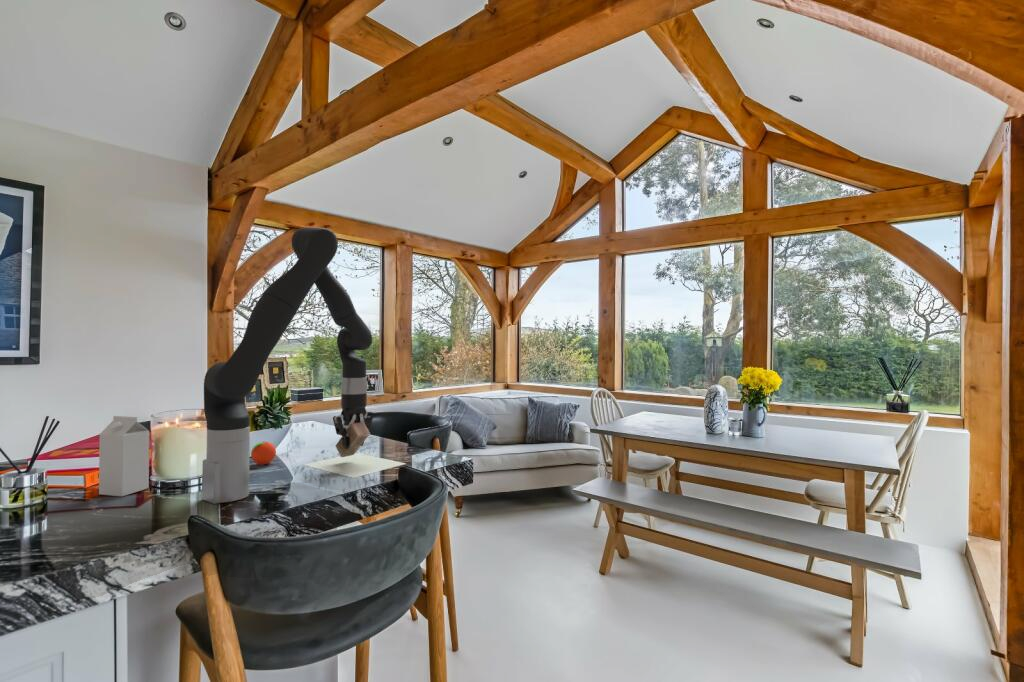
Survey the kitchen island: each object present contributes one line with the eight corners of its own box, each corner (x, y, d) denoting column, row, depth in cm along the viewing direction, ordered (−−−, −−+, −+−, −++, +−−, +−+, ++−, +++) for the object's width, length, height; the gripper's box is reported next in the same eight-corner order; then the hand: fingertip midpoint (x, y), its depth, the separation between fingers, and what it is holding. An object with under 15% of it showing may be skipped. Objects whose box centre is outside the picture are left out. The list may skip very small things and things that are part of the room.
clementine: (260, 469, 149) (260, 445, 149) (242, 466, 151) (242, 443, 151) (280, 462, 156) (281, 440, 156) (264, 460, 158) (264, 438, 158)
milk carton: (126, 486, 129) (127, 413, 129) (148, 488, 128) (149, 415, 128) (98, 495, 122) (99, 418, 122) (122, 497, 121) (123, 419, 121)
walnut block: (341, 457, 153) (358, 435, 149) (335, 445, 155) (351, 423, 151) (353, 454, 157) (370, 433, 153) (347, 443, 159) (363, 421, 155)
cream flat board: (353, 479, 138) (353, 477, 138) (302, 466, 152) (302, 464, 152) (406, 465, 155) (406, 463, 155) (356, 454, 168) (356, 452, 168)
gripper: (342, 394, 146) (341, 452, 146) (380, 390, 158) (379, 444, 158) (326, 392, 150) (325, 449, 150) (364, 389, 162) (364, 441, 162)
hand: (353, 446), depth 154 cm, fingers closed on walnut block, 4 cm apart
